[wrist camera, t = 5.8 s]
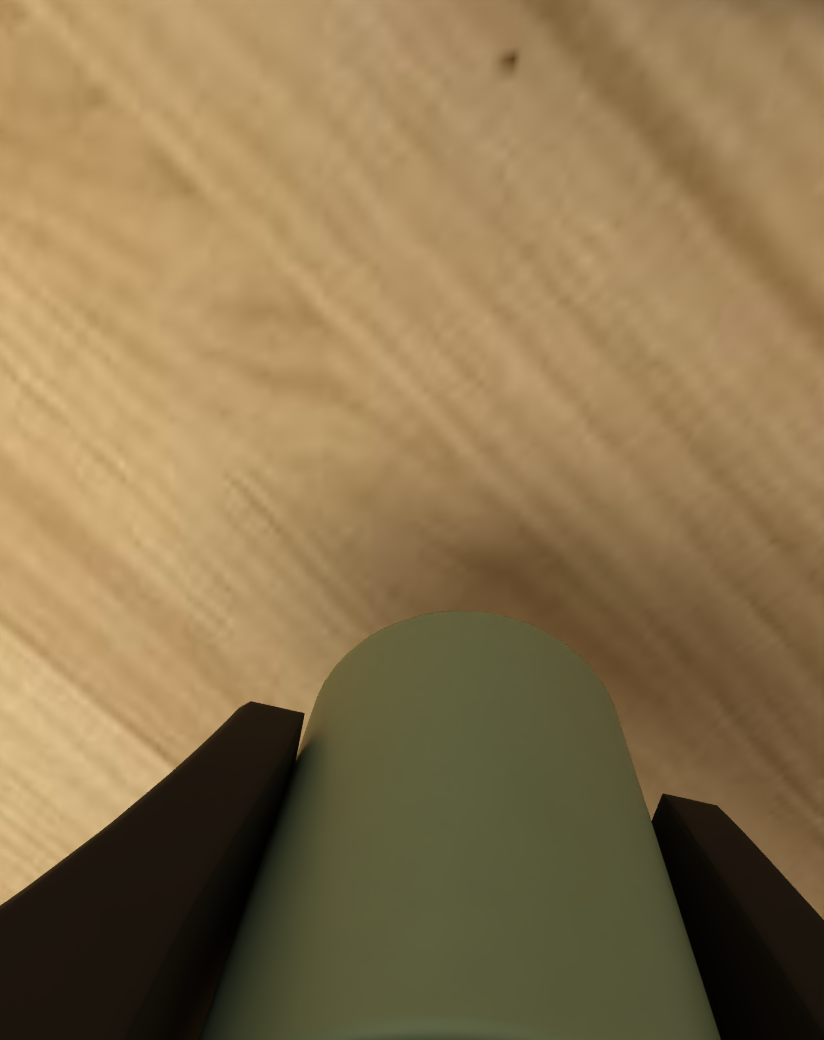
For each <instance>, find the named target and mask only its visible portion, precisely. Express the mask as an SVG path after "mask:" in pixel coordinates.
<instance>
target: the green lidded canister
mask: <svg viewBox="0 0 824 1040" xmlns="http://www.w3.org/2000/svg"><path fill="white" fill-rule="evenodd" d="M198 1040H721V1038H720V1035H719V1032H718V1029H717V1026H716V1023H715V1020H714V1016H713V1013H712V1010H711V1007H710V1004H709V1001H708V998H707V995H706V991H705V988H704V985H703V982H702V979H701V976H700V973H699V969H698V966H697V963H696V960H695V957H694V954H693V951H692V947H691V944H690V941H689V938H688V935H687V932H686V929H685V926H684V922H683V919H682V916H681V913H680V910H679V907H678V904H677V900H676V897H675V894H674V891H673V888H672V885H671V882H670V879H669V875H668V872H667V869H666V866H665V863H664V860H663V857H662V853H661V850H660V847H659V844H658V841H657V838H656V835H655V832H654V828H653V825H652V822H651V819H650V816H649V813H648V810H647V806H646V803H645V800H644V797H643V794H642V791H641V788H640V785H639V781H638V778H637V775H636V772H635V769H634V766H633V763H632V759H631V756H630V753H629V750H628V747H627V744H626V741H625V737H624V734H623V731H622V728H621V725H620V722H619V719H618V716H617V712H616V709H615V706H614V703H613V701H612V699H611V697H610V695H609V693H608V691H607V689H606V687H605V686H604V684H603V683H602V681H601V680H600V678H599V677H598V676H597V674H596V673H595V671H594V670H593V669H592V668H591V667H590V666H589V665H588V664H587V663H586V662H585V660H584V659H583V658H582V657H581V656H580V655H578V654H577V653H576V652H575V651H573V650H572V649H571V648H570V647H569V646H567V645H566V644H565V643H563V642H562V641H560V640H558V639H557V638H555V637H554V636H552V635H550V634H549V633H547V632H545V631H543V630H541V629H539V628H536V627H534V626H532V625H530V624H528V623H525V622H522V621H519V620H516V619H513V618H510V617H506V616H502V615H496V614H491V613H486V612H474V611H446V612H437V613H431V614H425V615H420V616H416V617H413V618H410V619H406V620H403V621H400V622H398V623H395V624H393V625H391V626H389V627H386V628H384V629H382V630H380V631H378V632H376V633H375V634H373V635H371V636H370V637H368V638H366V639H365V640H363V641H362V642H361V643H359V644H358V645H357V646H356V647H354V648H353V649H352V650H351V651H349V652H348V653H347V654H346V655H345V657H344V658H343V659H342V660H341V661H340V662H339V663H338V664H337V665H336V666H335V668H334V669H333V670H332V672H331V673H330V675H329V676H328V678H327V679H326V680H325V682H324V684H323V686H322V688H321V690H320V692H319V694H318V696H317V699H316V702H315V705H314V708H313V710H312V713H311V716H310V719H309V722H308V725H307V728H306V731H305V733H304V736H303V739H302V742H301V745H300V748H299V751H298V754H297V757H296V761H295V764H294V767H293V770H292V773H291V776H290V779H289V782H288V785H287V787H286V790H285V793H284V796H283V799H282V802H281V805H280V808H279V811H278V813H277V816H276V819H275V822H274V825H273V828H272V830H271V833H270V835H269V838H268V841H267V843H266V846H265V849H264V852H263V855H262V857H261V860H260V863H259V866H258V869H257V872H256V875H255V878H254V880H253V883H252V886H251V889H250V892H249V895H248V898H247V901H246V904H245V906H244V909H243V912H242V915H241V918H240V921H239V924H238V927H237V929H236V932H235V935H234V938H233V941H232V944H231V947H230V950H229V953H228V955H227V958H226V961H225V964H224V967H223V970H222V973H221V976H220V978H219V981H218V984H217V987H216V990H215V993H214V996H213V999H212V1002H211V1004H210V1007H209V1010H208V1013H207V1016H206V1019H205V1022H204V1025H203V1027H202V1030H201V1033H200V1036H199V1039H198Z"/></svg>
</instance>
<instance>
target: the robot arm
mask: <svg viewBox="0 0 824 1040" xmlns="http://www.w3.org/2000/svg"><path fill="white" fill-rule="evenodd" d="M304 714H305V713H301V712H297V711H292V710H288V709H283V708H279V707H274V706H270V705H265V704H261V703H256V702H252V701H251V702H249V703H247V704H245V705H243V706H242V707H240V708H239V709H238V710H237V711H236V712H235V713H234V714H233V715H232V716H231V717H230V718H229V719H228V720H227V721H226V722H225V723H224V724H223V725H222V726H221V727H220V728H219V729H218V730H217V731H216V732H215V733H214V734H213V735H212V736H210V737H209V738H208V739H207V740H206V741H205V742H204V743H203V744H202V745H201V746H200V747H199V748H198V749H197V750H196V751H194V752H193V753H192V754H191V755H190V756H189V757H188V758H187V759H186V760H184V761H183V762H182V763H181V764H180V765H179V766H178V767H177V768H176V769H174V770H173V771H172V772H171V773H170V774H169V775H168V776H166V777H165V778H164V779H163V780H162V781H161V782H159V783H158V784H157V785H156V786H155V787H153V788H152V789H151V790H150V791H149V792H147V793H146V794H145V795H144V796H143V797H142V798H140V799H139V800H138V801H137V802H136V803H134V804H133V805H132V806H131V807H130V808H128V809H127V810H126V811H125V812H124V813H123V814H121V815H120V816H119V817H118V818H117V819H115V820H114V821H113V822H112V823H110V824H109V825H108V826H107V827H105V828H104V829H103V830H102V831H100V832H99V833H98V834H96V835H95V836H94V837H92V838H91V839H90V840H88V841H87V842H86V843H84V844H83V845H82V846H80V847H79V848H78V849H76V850H75V851H74V852H73V853H71V854H70V855H69V856H67V857H66V858H65V859H63V860H62V861H61V862H59V863H58V864H57V865H55V866H54V867H53V868H51V869H50V870H49V871H47V872H46V873H45V874H43V875H42V876H41V877H39V878H38V879H37V880H35V881H34V882H33V883H32V884H30V885H29V886H27V887H26V888H25V889H23V890H22V891H20V892H19V893H18V894H16V895H15V896H13V897H12V898H11V899H9V900H8V901H6V902H5V903H3V904H2V905H1V906H0V1040H198V1039H199V1036H200V1033H201V1030H202V1027H203V1025H204V1022H205V1019H206V1016H207V1013H208V1010H209V1007H210V1004H211V1002H212V999H213V996H214V993H215V990H216V987H217V984H218V981H219V978H220V976H221V973H222V970H223V967H224V964H225V961H226V958H227V955H228V953H229V950H230V947H231V944H232V941H233V938H234V935H235V932H236V929H237V927H238V924H239V921H240V918H241V915H242V912H243V909H244V906H245V904H246V901H247V898H248V895H249V892H250V889H251V886H252V883H253V880H254V878H255V875H256V872H257V869H258V866H259V863H260V860H261V857H262V855H263V852H264V849H265V846H266V843H267V841H268V838H269V835H270V833H271V830H272V828H273V825H274V822H275V819H276V816H277V813H278V811H279V808H280V805H281V802H282V799H283V796H284V793H285V790H286V787H287V785H288V782H289V779H290V776H291V773H292V770H293V767H294V764H295V761H296V757H297V751H298V746H299V741H300V736H301V730H302V725H303V720H304ZM651 822H652V825H653V828H654V832H655V835H656V838H657V841H658V844H659V847H660V850H661V853H662V857H663V860H664V863H665V866H666V869H667V872H668V875H669V879H670V882H671V885H672V888H673V891H674V894H675V897H676V900H677V904H678V907H679V910H680V913H681V916H682V919H683V922H684V926H685V929H686V932H687V935H688V938H689V941H690V944H691V947H692V951H693V954H694V957H695V960H696V963H697V966H698V969H699V973H700V976H701V979H702V982H703V985H704V988H705V991H706V995H707V998H708V1001H709V1004H710V1007H711V1010H712V1013H713V1016H714V1020H715V1023H716V1026H717V1029H718V1032H719V1035H720V1038H721V1040H824V920H823V919H822V918H821V917H820V915H819V914H818V913H817V912H816V911H815V910H814V909H813V908H812V907H811V906H810V904H809V903H808V902H807V901H806V900H805V899H804V898H803V897H802V896H801V894H800V893H799V892H798V891H797V890H796V889H795V888H794V887H793V886H792V885H791V883H790V882H789V881H788V880H787V879H786V878H785V877H784V876H783V875H782V873H781V872H780V871H779V870H778V869H777V868H776V867H775V866H774V865H773V864H772V862H771V861H770V860H769V859H768V858H767V857H766V856H765V855H764V854H763V853H762V852H761V850H760V849H759V848H758V847H757V846H756V845H755V844H754V843H753V842H752V841H751V840H750V839H749V837H748V836H747V835H746V834H745V833H744V832H743V831H742V830H741V829H740V828H739V827H738V826H737V825H736V824H735V823H734V822H733V821H732V820H731V819H730V818H729V817H728V816H727V815H726V814H725V813H724V812H723V811H722V810H721V809H720V808H719V807H718V806H717V805H712V804H708V803H703V802H699V801H694V800H690V799H685V798H681V797H676V796H672V795H667V794H662V797H661V799H660V802H659V804H658V807H657V809H656V812H655V814H654V816H653V819H652V821H651Z"/></svg>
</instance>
